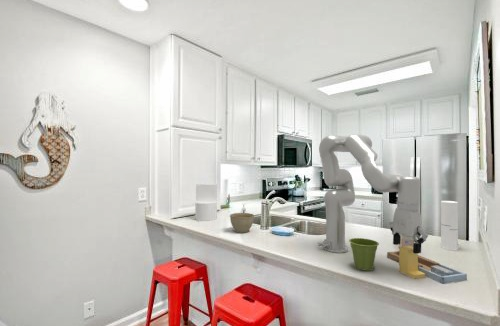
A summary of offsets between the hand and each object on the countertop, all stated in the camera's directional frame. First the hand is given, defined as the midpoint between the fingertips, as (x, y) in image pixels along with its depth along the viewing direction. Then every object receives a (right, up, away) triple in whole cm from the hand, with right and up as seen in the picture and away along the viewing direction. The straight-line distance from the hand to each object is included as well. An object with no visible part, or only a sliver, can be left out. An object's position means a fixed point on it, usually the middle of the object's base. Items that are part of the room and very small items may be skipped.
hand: (406, 248), depth 102 cm
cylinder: (-100, -11, +103) cm, 144 cm away
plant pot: (-14, -11, +7) cm, 19 cm away
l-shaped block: (+1, -10, -2) cm, 11 cm away
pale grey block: (+11, -10, -2) cm, 15 cm away
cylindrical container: (+43, -11, +32) cm, 55 cm away
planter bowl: (-69, -11, +66) cm, 96 cm away
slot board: (+8, -11, +9) cm, 16 cm away
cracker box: (+19, -11, +30) cm, 37 cm away
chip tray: (+12, -11, -4) cm, 16 cm away
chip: (+12, -10, -5) cm, 16 cm away
